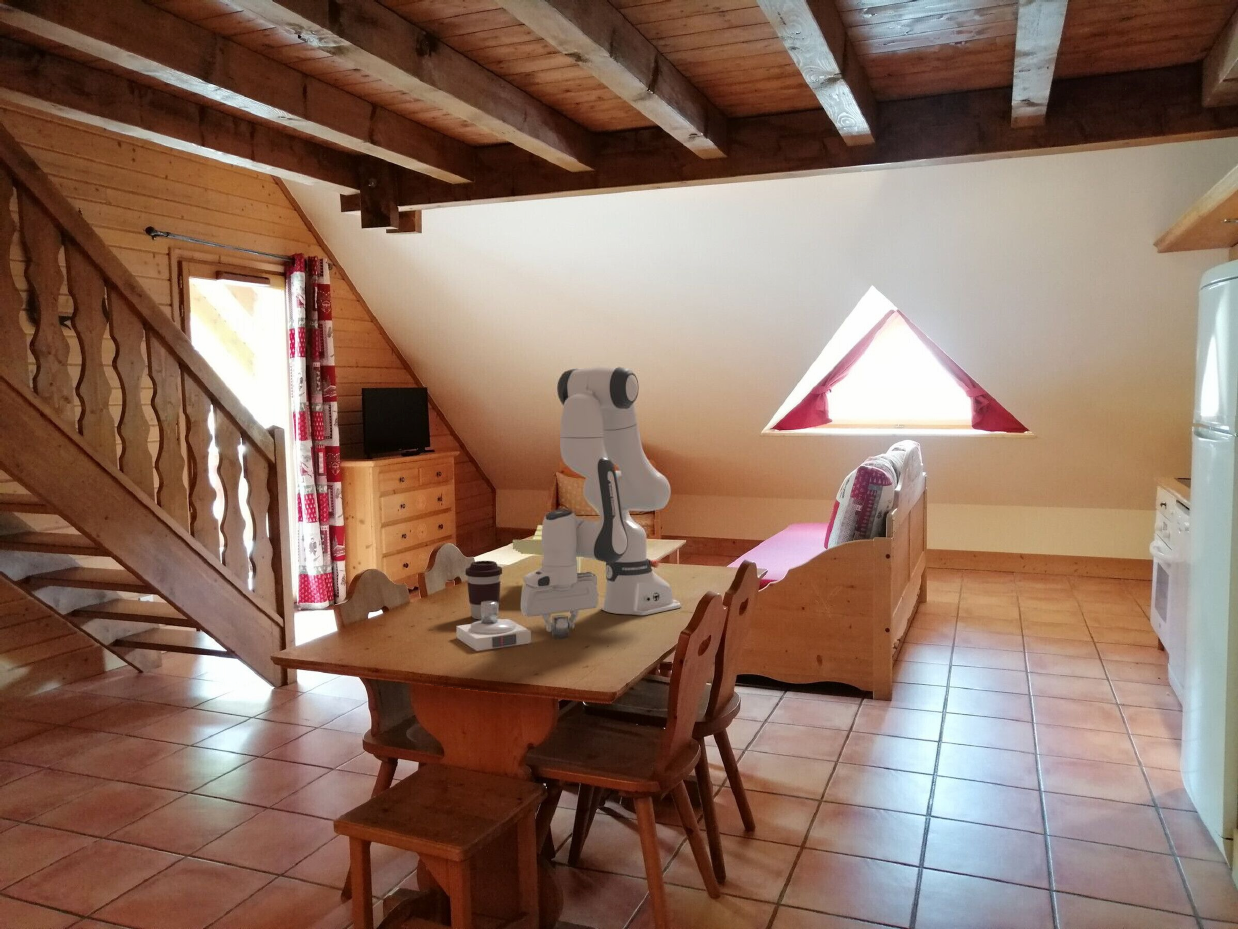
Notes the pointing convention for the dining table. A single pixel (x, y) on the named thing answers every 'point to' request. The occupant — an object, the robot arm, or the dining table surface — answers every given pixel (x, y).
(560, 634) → the cylinder
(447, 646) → the dining table surface
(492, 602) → the cylinder
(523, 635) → the scale
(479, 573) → the coffee cup
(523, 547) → the slatted curved stool
